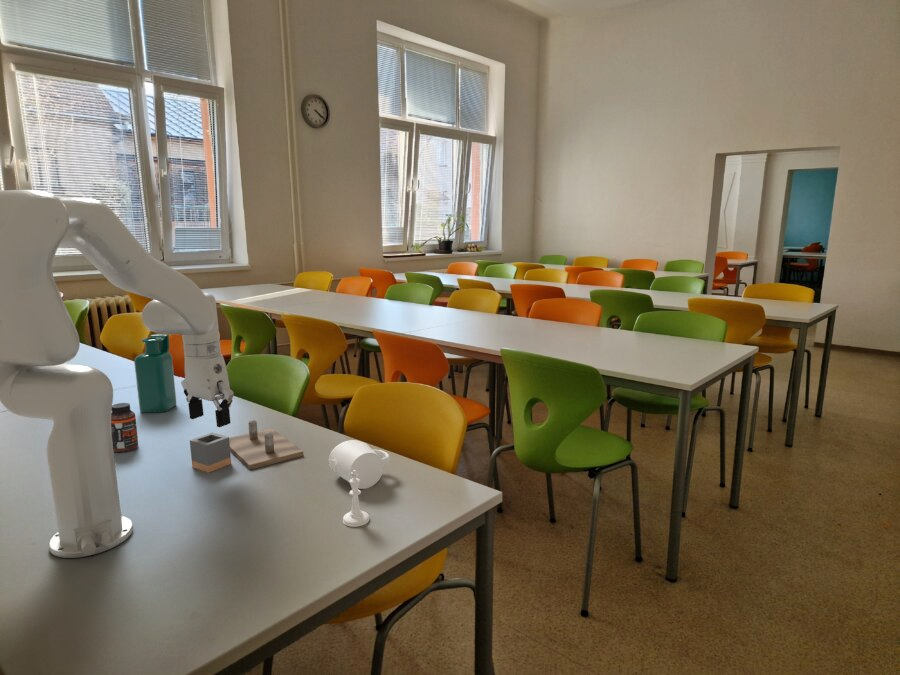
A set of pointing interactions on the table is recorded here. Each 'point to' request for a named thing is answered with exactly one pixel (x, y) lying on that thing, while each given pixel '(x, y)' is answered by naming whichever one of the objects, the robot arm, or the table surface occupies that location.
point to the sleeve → (210, 452)
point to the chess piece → (355, 505)
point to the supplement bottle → (123, 428)
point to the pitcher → (155, 375)
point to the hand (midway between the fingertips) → (210, 421)
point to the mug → (358, 462)
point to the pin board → (262, 447)
